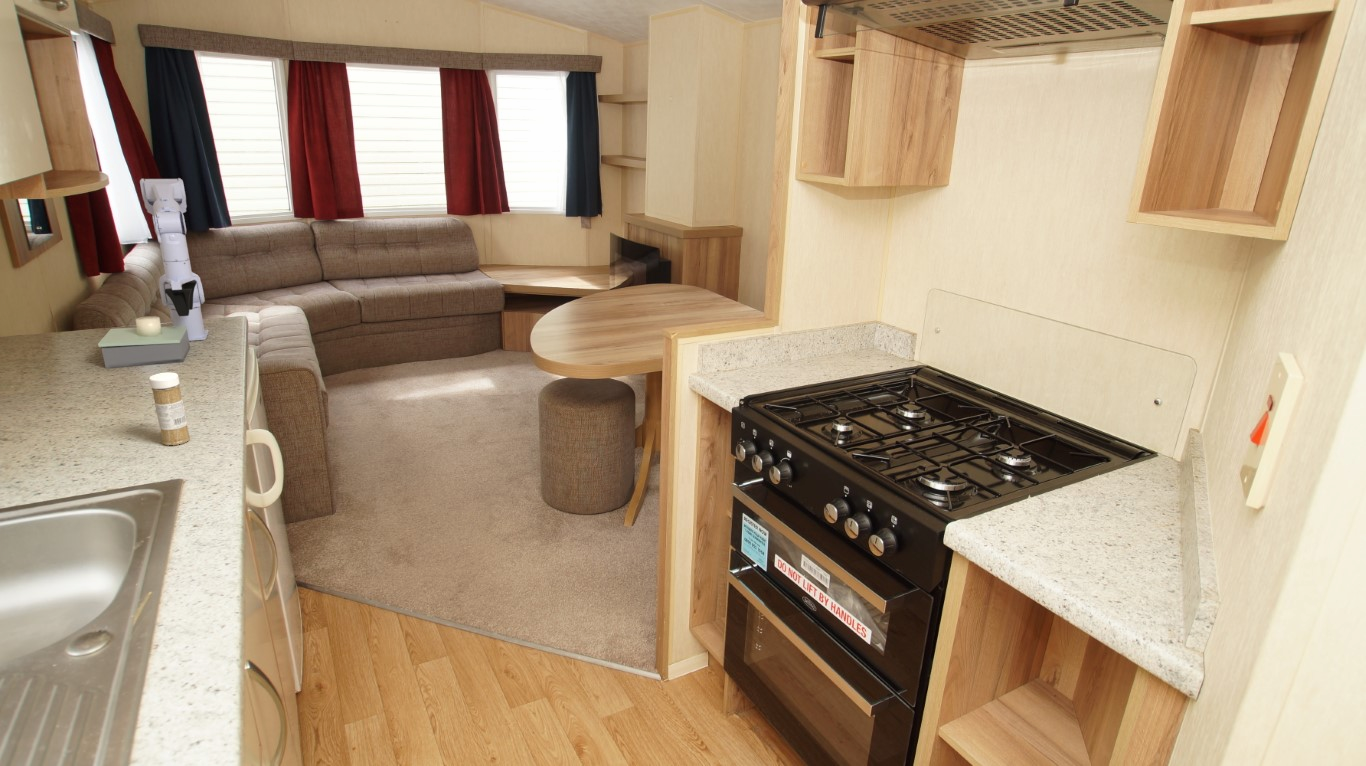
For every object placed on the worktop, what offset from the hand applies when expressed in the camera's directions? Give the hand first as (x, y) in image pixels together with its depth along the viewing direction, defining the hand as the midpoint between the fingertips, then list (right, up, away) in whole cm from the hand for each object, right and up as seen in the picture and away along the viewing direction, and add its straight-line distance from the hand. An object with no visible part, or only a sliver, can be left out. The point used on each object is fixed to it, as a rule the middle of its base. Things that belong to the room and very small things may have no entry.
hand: (185, 312), depth 194 cm
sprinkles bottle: (+32, -30, -50) cm, 66 cm away
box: (-7, -12, -3) cm, 14 cm away
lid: (-7, -7, -4) cm, 11 cm away
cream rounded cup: (-6, -6, -4) cm, 10 cm away
